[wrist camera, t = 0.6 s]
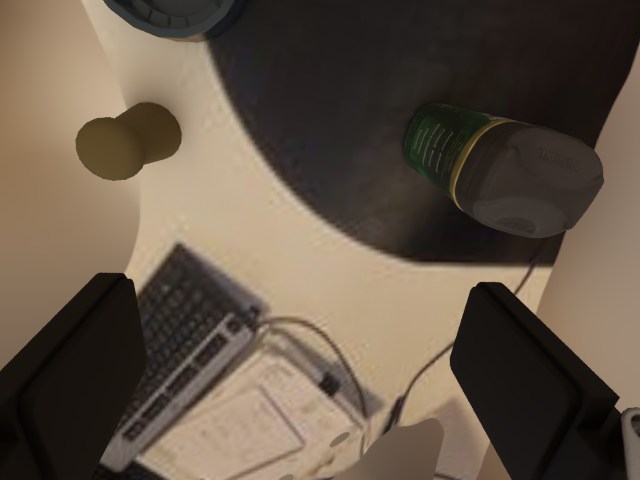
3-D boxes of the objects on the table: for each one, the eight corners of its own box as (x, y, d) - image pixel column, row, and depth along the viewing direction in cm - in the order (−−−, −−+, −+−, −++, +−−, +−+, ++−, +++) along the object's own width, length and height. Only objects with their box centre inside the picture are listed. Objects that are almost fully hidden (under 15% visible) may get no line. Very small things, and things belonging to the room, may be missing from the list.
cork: (151, 169, 39) (103, 203, 29) (111, 122, 37) (43, 141, 27) (193, 141, 38) (157, 165, 28) (154, 90, 36) (100, 98, 26)
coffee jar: (391, 163, 41) (457, 227, 24) (418, 93, 38) (517, 112, 21) (463, 184, 43) (571, 258, 26) (495, 120, 39) (641, 156, 23)
